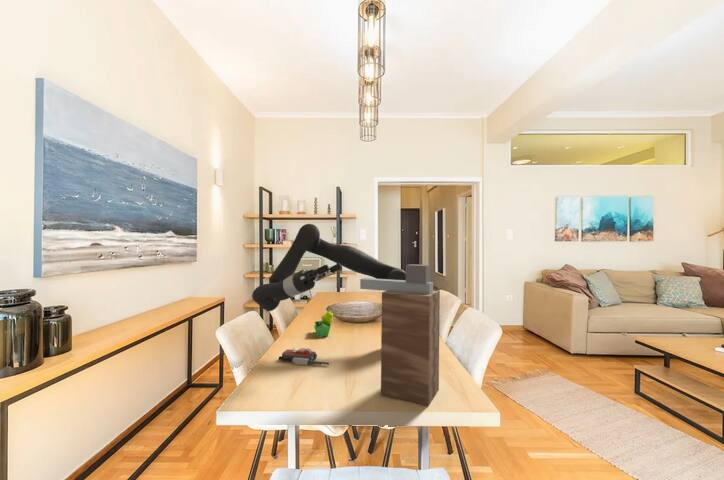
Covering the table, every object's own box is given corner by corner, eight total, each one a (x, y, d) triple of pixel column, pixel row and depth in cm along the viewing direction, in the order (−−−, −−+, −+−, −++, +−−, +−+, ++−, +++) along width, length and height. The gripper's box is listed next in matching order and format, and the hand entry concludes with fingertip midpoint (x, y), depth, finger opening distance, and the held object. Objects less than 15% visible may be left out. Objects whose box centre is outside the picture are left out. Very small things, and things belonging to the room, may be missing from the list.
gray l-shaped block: (366, 287, 111) (366, 262, 111) (433, 292, 101) (433, 265, 101) (359, 288, 107) (359, 263, 107) (429, 294, 97) (429, 266, 97)
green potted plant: (314, 331, 170) (314, 308, 170) (332, 331, 171) (332, 308, 171) (314, 337, 158) (314, 313, 158) (333, 337, 159) (333, 313, 159)
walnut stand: (395, 381, 110) (396, 287, 110) (438, 389, 104) (439, 290, 104) (380, 396, 99) (381, 292, 99) (428, 406, 93) (429, 296, 93)
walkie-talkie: (275, 363, 125) (327, 368, 121) (275, 351, 125) (328, 356, 121) (285, 356, 134) (334, 360, 130) (285, 344, 134) (335, 348, 130)
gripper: (283, 274, 118) (319, 256, 112) (306, 272, 131) (341, 255, 124) (289, 295, 117) (327, 278, 110) (313, 290, 129) (348, 275, 123)
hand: (334, 266), depth 117 cm, fingers open, 8 cm apart
